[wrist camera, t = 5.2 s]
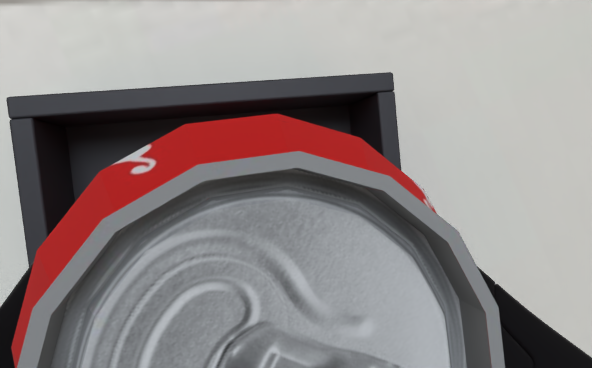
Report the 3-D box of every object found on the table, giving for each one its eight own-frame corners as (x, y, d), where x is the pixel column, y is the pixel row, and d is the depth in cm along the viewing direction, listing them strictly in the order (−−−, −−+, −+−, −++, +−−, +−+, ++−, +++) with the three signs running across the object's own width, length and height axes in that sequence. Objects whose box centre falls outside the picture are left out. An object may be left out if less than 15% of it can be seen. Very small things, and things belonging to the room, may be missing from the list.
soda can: (106, 278, 16) (-207, 624, 4) (185, 117, 16) (127, -29, 4) (267, 343, 17) (413, 761, 5) (338, 192, 17) (632, 247, 5)
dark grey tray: (393, 485, 18) (435, 555, 15) (106, 558, 16) (80, 659, 13) (357, 90, 18) (393, 71, 14) (48, 112, 15) (4, 96, 12)
